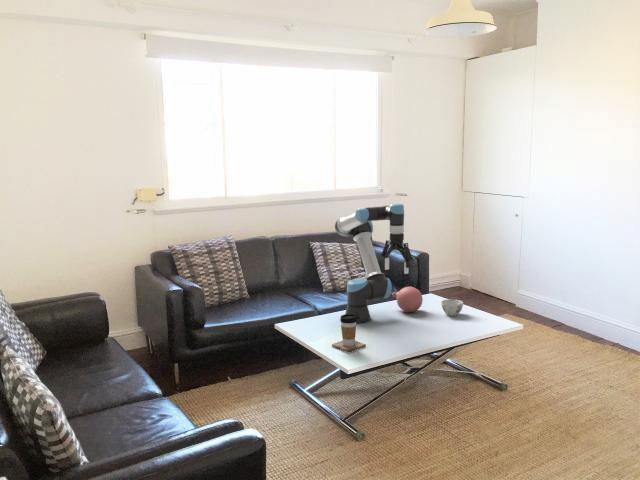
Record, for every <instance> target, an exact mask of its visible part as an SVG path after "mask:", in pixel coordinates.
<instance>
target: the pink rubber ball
mask: <svg viewBox="0 0 640 480" xmlns="http://www.w3.org/2000/svg"><path fill="white" fill-rule="evenodd" d="M391 296H392V297H394V298H395V299H396V303H397V304H396V305H397V306H398V308H400V310H402V311H403V312H406V313H415V312H416V311H418V310H419V309H420V308H421V306H422V304H423V301H424V300H423V295H422V293H421V291H420V290H419V289H418V288H416V287H415V286H414V287H413V286H405V287H402V288H401V289H400V290H399V291H397V292H396V291H394V292H391Z"/></svg>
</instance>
